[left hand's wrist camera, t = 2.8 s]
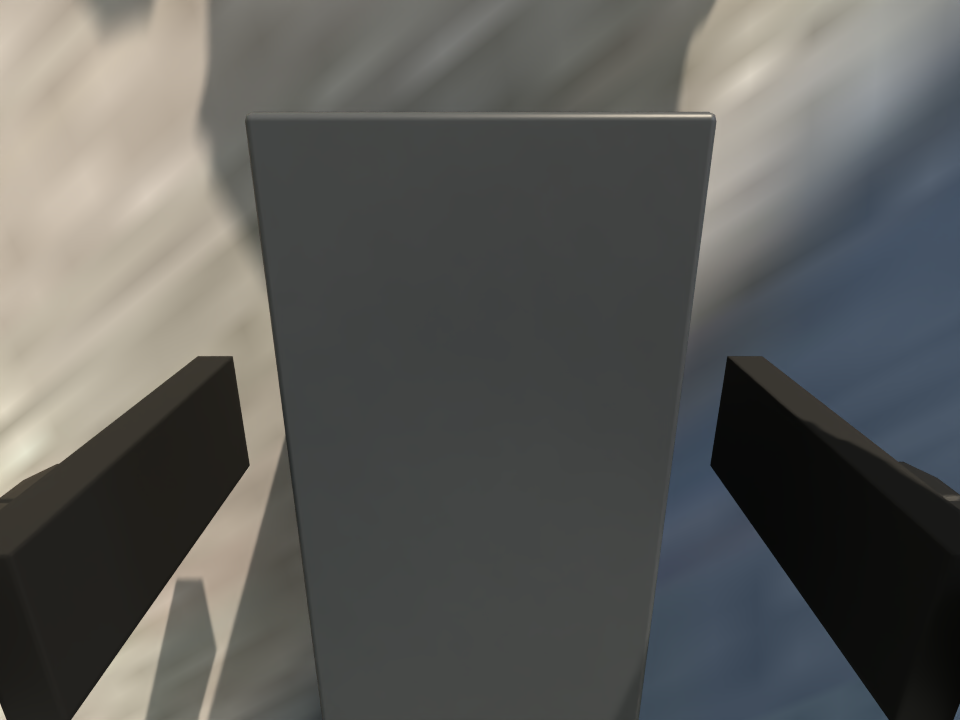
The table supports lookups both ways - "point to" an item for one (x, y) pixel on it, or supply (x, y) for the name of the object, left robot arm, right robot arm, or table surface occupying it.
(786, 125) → the table surface
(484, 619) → the beam
